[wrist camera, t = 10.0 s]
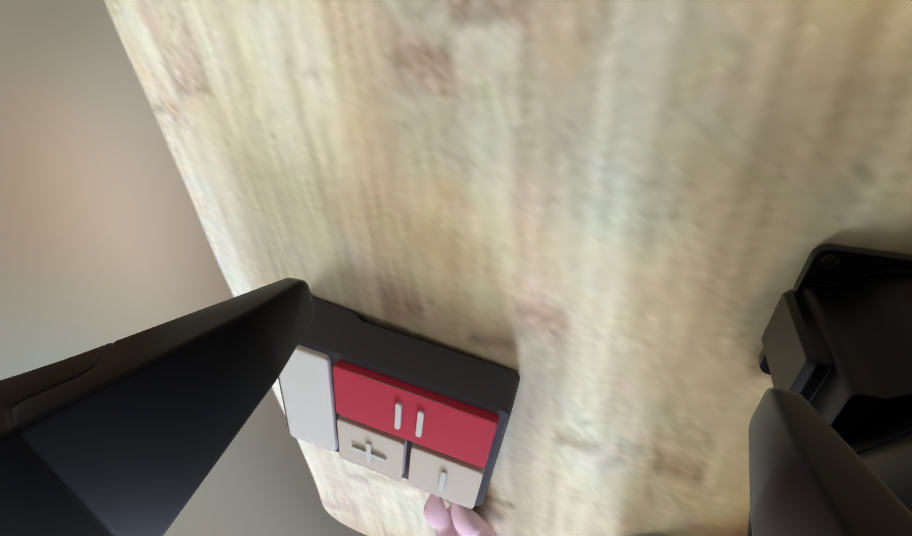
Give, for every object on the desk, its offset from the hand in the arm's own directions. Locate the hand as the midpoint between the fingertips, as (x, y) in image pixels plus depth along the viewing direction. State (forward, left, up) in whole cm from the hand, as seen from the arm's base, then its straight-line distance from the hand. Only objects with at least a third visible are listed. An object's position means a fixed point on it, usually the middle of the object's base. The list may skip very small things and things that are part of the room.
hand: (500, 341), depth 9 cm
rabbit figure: (+5, +32, -12) cm, 35 cm away
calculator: (+10, +18, -12) cm, 24 cm away
